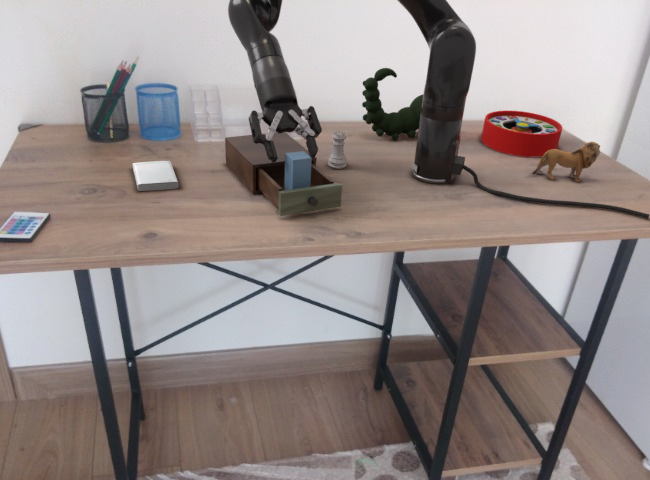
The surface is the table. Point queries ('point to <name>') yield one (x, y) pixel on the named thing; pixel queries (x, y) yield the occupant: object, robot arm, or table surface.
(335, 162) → the rook chess piece
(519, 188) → the table surface
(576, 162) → the lion figurine
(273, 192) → the drawer
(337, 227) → the table surface
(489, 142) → the toy clock
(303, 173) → the slate block
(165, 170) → the hard drive
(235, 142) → the cabinet
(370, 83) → the toy figurine
